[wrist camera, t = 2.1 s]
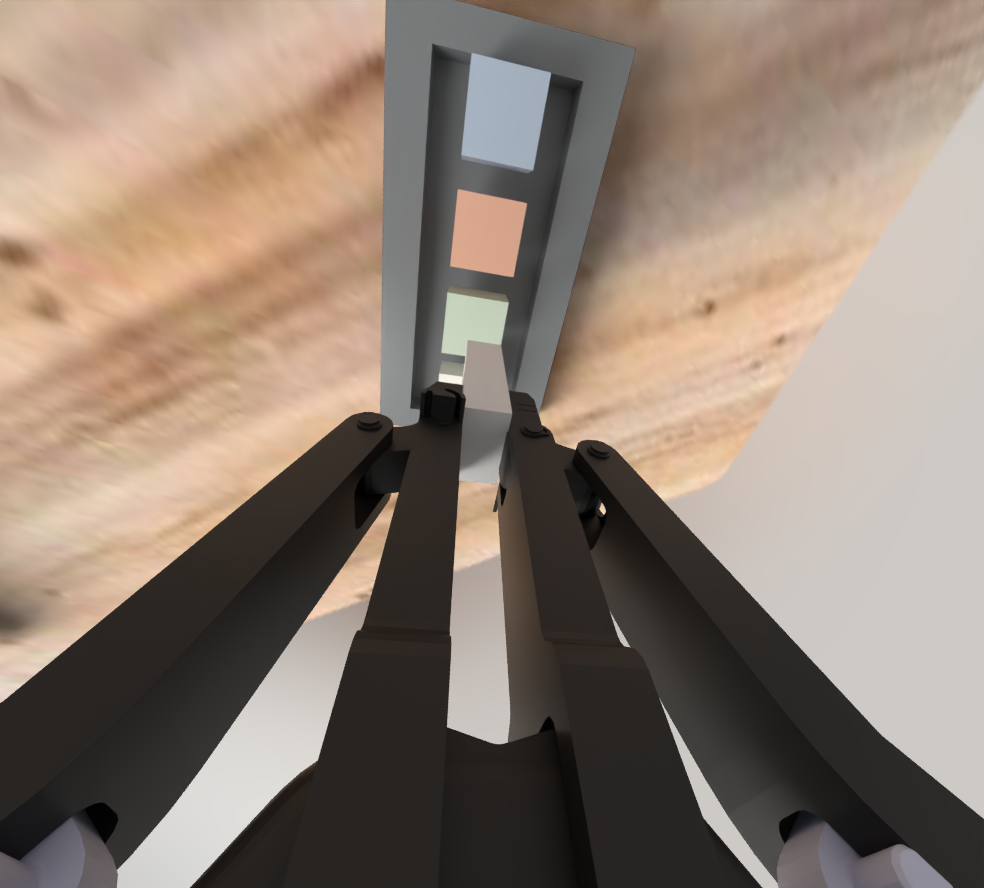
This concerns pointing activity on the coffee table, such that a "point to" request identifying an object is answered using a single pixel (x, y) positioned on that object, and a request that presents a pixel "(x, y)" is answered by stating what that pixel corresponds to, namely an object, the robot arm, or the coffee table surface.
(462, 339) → the key
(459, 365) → the key
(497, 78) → the key
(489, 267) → the key
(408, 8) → the gray rectangular tray
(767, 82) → the coffee table surface
